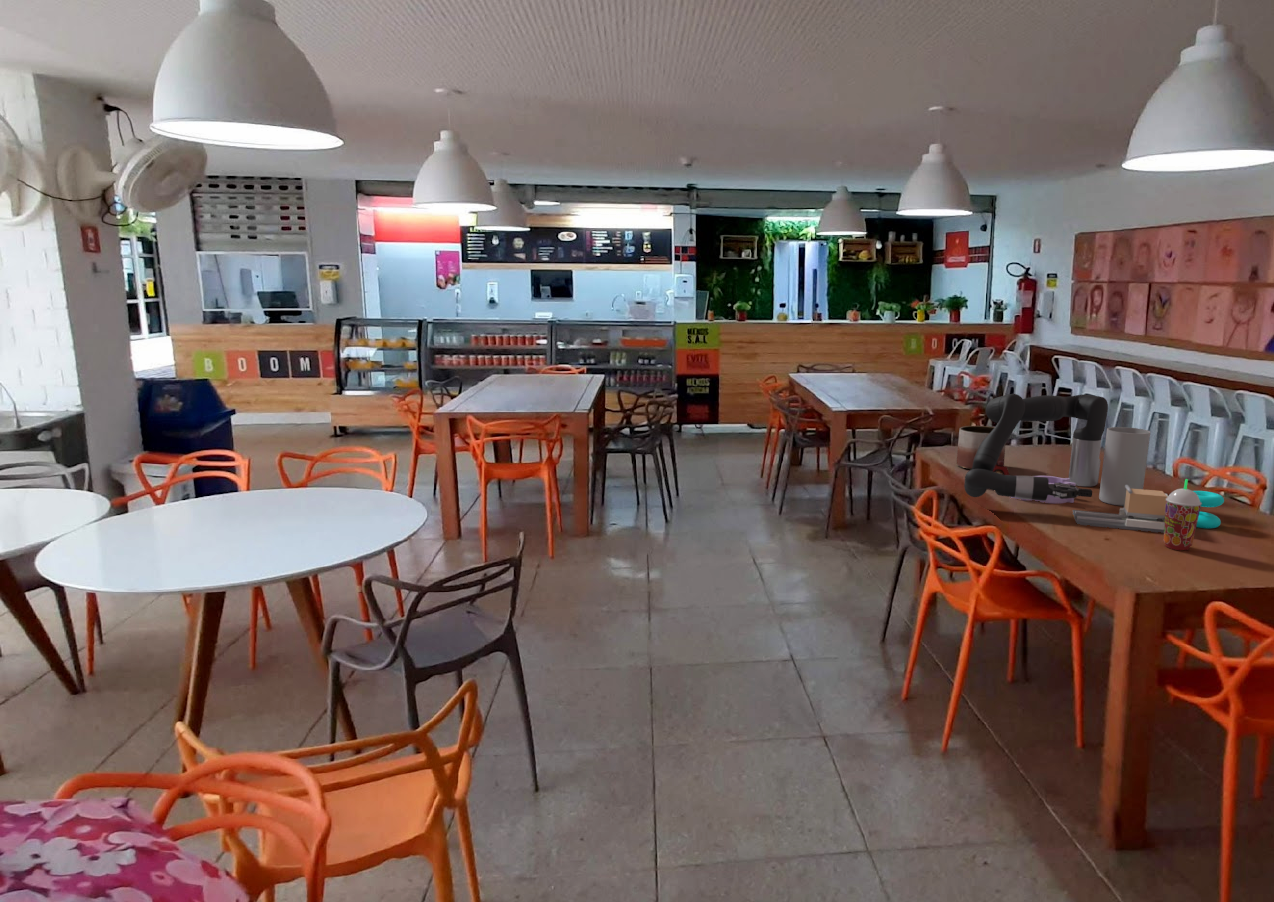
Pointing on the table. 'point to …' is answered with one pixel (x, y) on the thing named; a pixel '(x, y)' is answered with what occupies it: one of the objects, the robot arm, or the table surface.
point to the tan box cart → (1145, 503)
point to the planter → (972, 444)
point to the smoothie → (1181, 518)
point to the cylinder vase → (1123, 463)
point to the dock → (1118, 521)
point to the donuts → (1208, 501)
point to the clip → (1051, 498)
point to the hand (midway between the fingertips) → (1091, 493)
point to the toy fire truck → (1001, 468)
